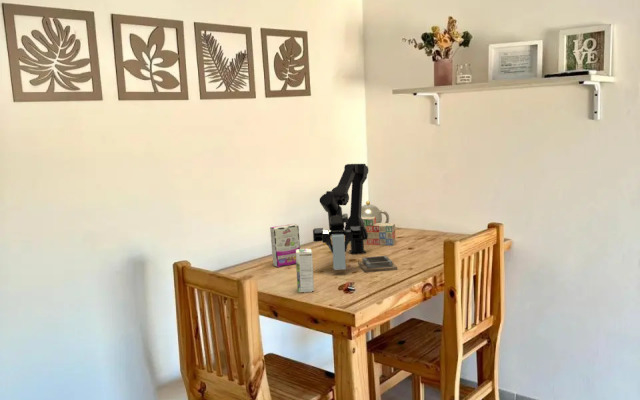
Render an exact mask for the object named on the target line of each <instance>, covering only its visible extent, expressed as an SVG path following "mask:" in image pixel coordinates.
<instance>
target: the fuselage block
mask: <svg viewBox="0 0 640 400" xmlns="http://www.w3.org/2000/svg"><path fill="white" fill-rule="evenodd" d="M331 242H332V247H333V253H332V264H333V265H332V267H333V270H334V271H337V270H346V269H347V267H346V252H345V235H344V234H332V236H331Z"/></svg>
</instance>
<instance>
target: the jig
mask: <svg viewBox="0 0 640 400" xmlns="http://www.w3.org/2000/svg"><path fill="white" fill-rule="evenodd" d="M361 259H362V261H358V262H357V263H358V266H359V267H360V269H361V270H362V272H363V273H376V272H388V271H398V266H397V265H396V264H394V262H393V260H392V259H390V258H389V257H388V256H387V255H378V256H366V257H364V256H363V257H362V258H361Z"/></svg>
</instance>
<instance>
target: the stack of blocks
mask: <svg viewBox="0 0 640 400" xmlns="http://www.w3.org/2000/svg"><path fill="white" fill-rule="evenodd" d="M361 218H362V220H363V222H364V227H365V229H366V231H367V233H368V238H367V239H366V240H363V241H364V244H365V245H368V246H369V245H370V246H371V245H372V246H394V245H395V244H396V223H395V222H393V223H392V222H390V223H389V222H388V223H385V222H381V223H376V217H361ZM348 245H351V241H350V242H349V244H348Z"/></svg>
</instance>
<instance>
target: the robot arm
mask: <svg viewBox="0 0 640 400" xmlns="http://www.w3.org/2000/svg"><path fill="white" fill-rule="evenodd" d="M343 168H344V169H343V172H342V174H341V177H340V179H339V182H338V184H337V186H335V187H333V188H332V190H326V192H325V193H324V194H322V195H321V196H320V197H319V203H320V205H321V206H322V208H323V210H324V211H325V212H326V213H327V217H328V228H329V230H328V229H326V230H325V229H324V228H323V227H317V228H315V227H314V228H313V229H312V238H313V239H312V240H313V242H322V243H325V245H326V246H327V247H328V249H329V250H330V252H331V254H333V247H332V234H344V242H345V253H347V250H348V249H347V248H348V246H349V245H350V249H349V251H348V252H349V253H350V254H351V255H362V254H366V253H367V251H366V250H365V246H364V241H363V240H366V239H367V238H368V233H367V231H366V229H365V227H364V222H363V220H362V218H361V208H362V206H363V189H364V188H363V187H364V183H365V182H366V180H368V179H367V178H368V173H369V167H368V165H367V164H366V163H347V164H345V165H344V167H343ZM350 187H351V194H350V195H351V197H350V195H349V190H350ZM349 201H350V211H349V213H350V214H349V216H348V213H343V210H342V209H343V208H342V206H346V205H347V204H348V203H349ZM350 241H351V244H349V242H350Z"/></svg>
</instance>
